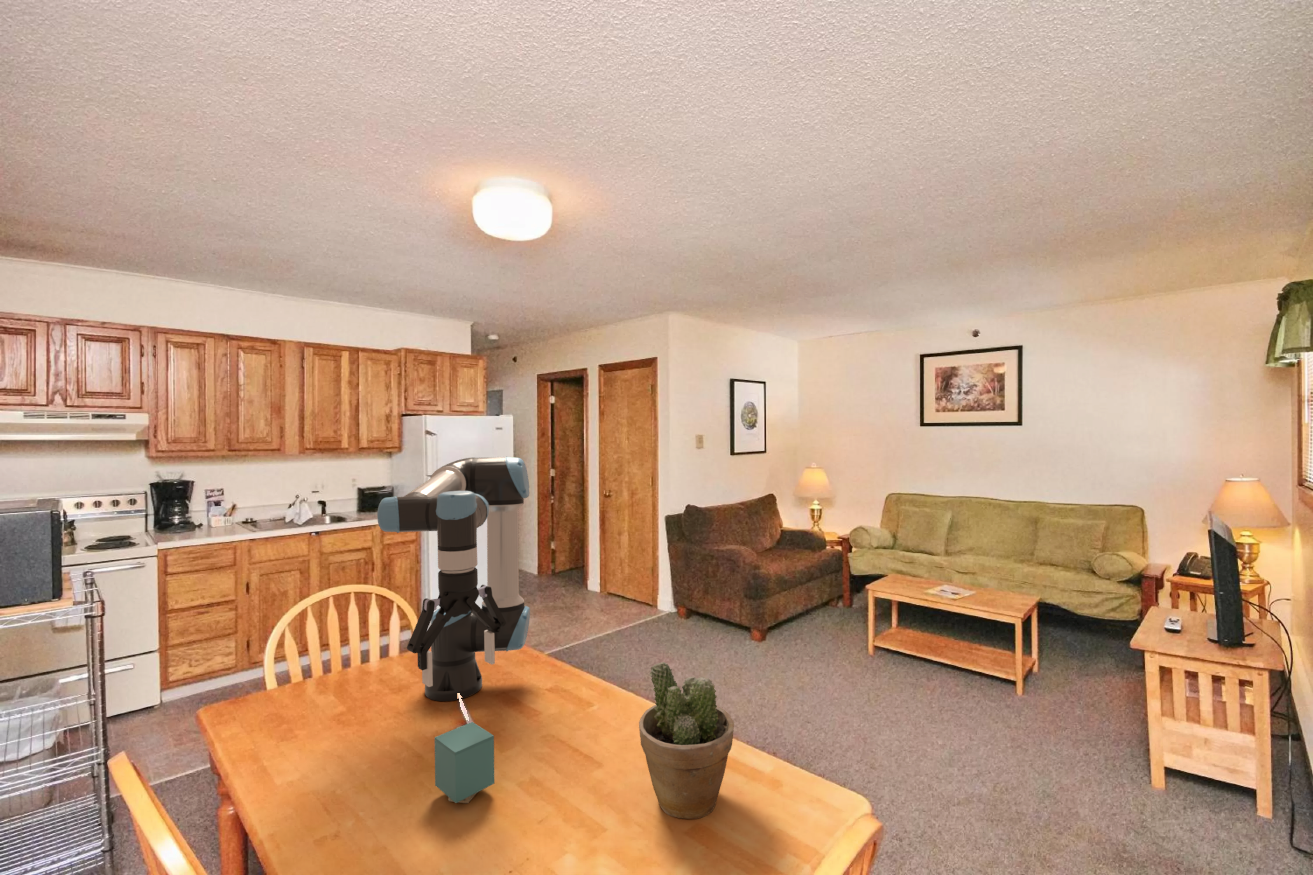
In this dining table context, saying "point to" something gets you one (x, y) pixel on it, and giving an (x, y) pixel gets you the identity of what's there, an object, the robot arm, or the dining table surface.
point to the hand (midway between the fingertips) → (459, 673)
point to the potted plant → (685, 744)
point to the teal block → (464, 761)
